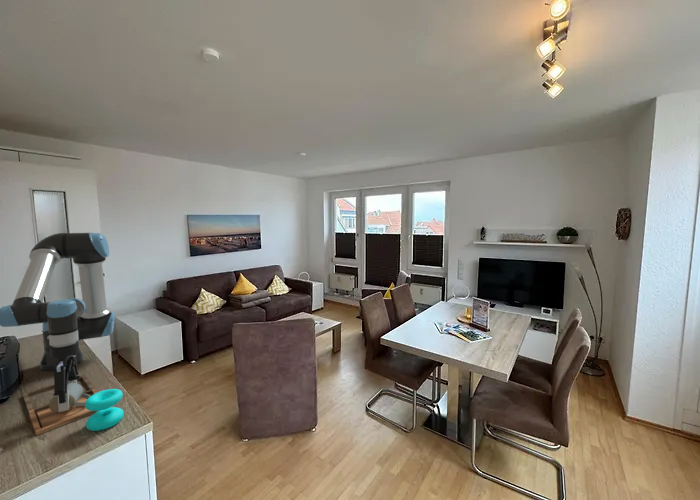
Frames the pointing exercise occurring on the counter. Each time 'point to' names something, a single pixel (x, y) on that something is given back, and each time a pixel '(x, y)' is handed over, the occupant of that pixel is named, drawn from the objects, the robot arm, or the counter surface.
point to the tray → (52, 418)
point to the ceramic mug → (70, 397)
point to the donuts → (104, 409)
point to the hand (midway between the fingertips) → (68, 403)
